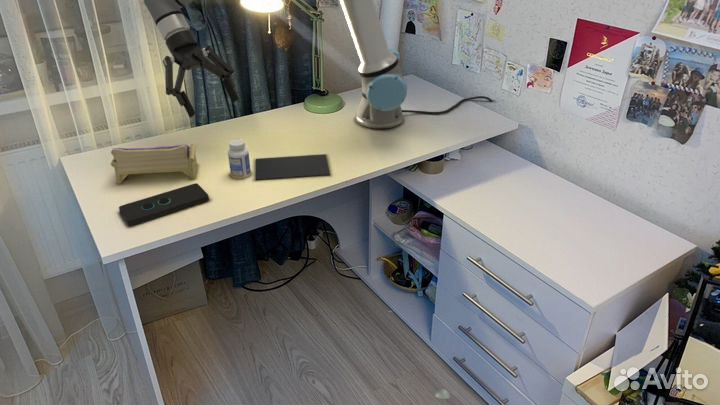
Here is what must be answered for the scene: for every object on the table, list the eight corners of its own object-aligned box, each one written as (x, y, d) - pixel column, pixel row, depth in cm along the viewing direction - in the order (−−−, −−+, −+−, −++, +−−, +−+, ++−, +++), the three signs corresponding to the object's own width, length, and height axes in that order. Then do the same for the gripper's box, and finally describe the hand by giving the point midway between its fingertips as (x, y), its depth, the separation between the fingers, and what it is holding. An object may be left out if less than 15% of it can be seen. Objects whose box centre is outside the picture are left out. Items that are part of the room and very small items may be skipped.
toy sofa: (199, 164, 158) (194, 131, 153) (197, 179, 151) (191, 145, 146) (122, 169, 156) (113, 136, 150) (115, 185, 148) (106, 150, 143)
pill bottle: (244, 167, 157) (240, 135, 152) (254, 174, 153) (251, 142, 148) (227, 173, 154) (222, 141, 149) (237, 181, 150) (232, 148, 145)
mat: (325, 155, 163) (325, 154, 163) (330, 175, 153) (330, 174, 153) (255, 159, 161) (255, 158, 161) (255, 180, 151) (255, 179, 151)
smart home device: (117, 205, 136) (196, 181, 147) (119, 211, 137) (197, 187, 147) (128, 221, 131) (209, 195, 141) (129, 227, 132) (210, 201, 142)
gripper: (212, 32, 160) (246, 100, 162) (130, 52, 145) (169, 127, 147) (222, 19, 154) (258, 90, 156) (137, 39, 139) (178, 117, 141)
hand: (214, 108), depth 151 cm, fingers open, 13 cm apart
